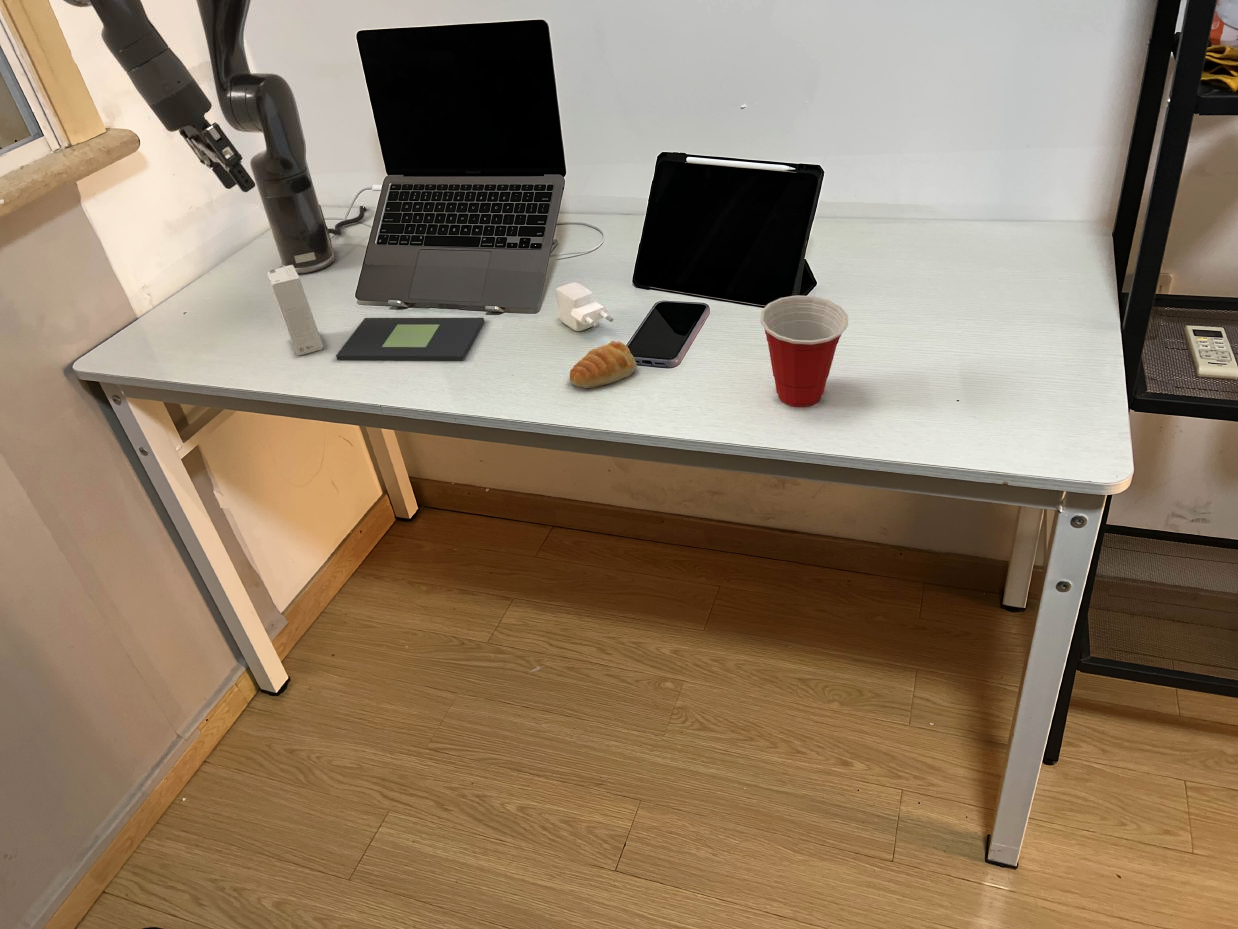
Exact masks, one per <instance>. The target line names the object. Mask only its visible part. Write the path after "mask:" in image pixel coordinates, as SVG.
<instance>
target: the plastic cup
mask: <svg viewBox="0 0 1238 929" xmlns="http://www.w3.org/2000/svg"><path fill="white" fill-rule="evenodd" d="M759 321H760V324H761V326H762V327H763V329H764V333H765V337H766V341H767V344H768V351H769V359H770V365H771V370H772V371H771V372H772V376H773V378H774V384H775V391H776V394H777V397H778V399H779V400H780V402H781V403H783V404H784V405H787V406H790V407H794V408H806V407H812V406H813V405H816V404H818V403H820V400H821V399H822V397H823V395H824V393H825V388H826V384H827V380H828V378H829V376H830V371H831V367H832V364H833V360H834V357H835V353H836V350H837V347H838V344H839V341H840V338H841V337H842V334H843V333H844V332H845V331H846V330H847V328H848V326H849V315H848V314H847V312H846V311H845V310H844V309H843V308H842V306H840V305H839V304H837V303H835V302H833V301H831V300H829V299H826V298H822V297H818V296H815V295H790V296H785V297H779V298H777V299H775V300H773V301H770V302H769V303H767V304H766V305H765V306H764V307H763V309H762V310H761V311H760V320H759Z"/></svg>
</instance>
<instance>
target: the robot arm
mask: <svg viewBox="0 0 1238 929" xmlns="http://www.w3.org/2000/svg"><path fill="white" fill-rule="evenodd" d="M62 1H63V2H65V3H67V4H69V5H71V6H72V7H77V8H90V7H92V8H93V9H94V11H95V13H96V15H97V17H98V18H99V20H100V21H101V23H102V29H101V33H100V36H101V40H102V41H103V43H104V45H105V46H106V48H107V49H108V51H109V52H110V53H111V54H112V56H113V57H114V59H115V60H116V61H117V63H118V64H119V65H120V67H121V68H122V70H123V71H124V72H126V75H127V76H128V78H129V79H130V81H131V83H132V85H133V86H134V88H135V89H136V91H137V92H138V94H139V95H140V96H141V98H142V99H143V100H144V101H145V103H146V104H147V106H149V108H150V109H151V111H152V112H153V113H154V115H155V116H156V117H157V119H158V120H159V121H160V123H161V124H162V125H163V126H164V128H165V130H166V131H167V132H171V133H174V132H177V131H178V133H179V135H180V136H181V137H182V138H183V139H184V141H185V142H186V143H187V145H188V146H189V148H190V149H191V150H192V152H193V153H194V154H195V156H196V157H197V159H198V160H199V162H200V164H202V165H203V166H206V168H208V169H209V170H211V171H212V172H213V173H214V175H215V176H216V178H217V180H219V182H220V183H221V185H222V186H223V187H224V188H225V189H226V190H231V189H232V188H234V187H235V186H237V187H238V188H239V189H240V191H241V192H242V193H248V192H249V191H251V190H252V189H254V188H255V187H257V191H258V193H259V197H260V200H261V202H262V206H263V208H264V212H265V215H266V218H267V221H268V224H269V227H270V231H271V234H272V236H273V240H274V242H275V246H276V249H277V252H278V256H279V258H280V261H281V262H280V263H281V266H282V267H285V266H289V265H293V266H294V268H295V270H296V272H297V274H298V275H299V274H308V273H312V272H317V271H320V270H322V269H325V268H326V267H328V266H330V265H331V264H332V263H333V262H334V261H335V258H336V257H335V250H334V246H333V244H332V242H333V241H332V239H331V235H334V236H339V235H341V229H340V228H342V227H345V226H348V225H352V224H355V223H358V222H360V221H361V220H362V219H363V218H364V217H365V212H366V211H367V210H368V209H367V207H366V206H364V205H363V206H364V208H363V206H361V205H360V206H359V214H358V216H356V217H353V218H349V219H346V220H342V221H339V222H338V223H336V224H335V226H334V228H331V227H330V228H329V227H328V226H327V223H326V219H325V216H324V212H323V208H322V206H321V204H320V203H319V200H318V197H317V193H316V190H315V189H316V188H315V186H314V182H313V180H312V176H311V173H310V169H309V164H308V162H307V161H308V160H307V146H306V140H305V135H304V130H303V126H302V121H301V118H300V113H299V109H298V105H297V101H296V98H295V95H294V92H293V90H292V88H291V86H290V84H289V83H288V82H287V80H286V79H285V78H284V77H282V76H281V75H279V74H276V73H266V72H265V73H264V72H261V73H260V72H257V73H255V72H251V70H250V67H249V62H248V58H247V54H246V48H245V42H244V36H245V33H244V32H245V26H246V22H247V19H248V18H247V17H248V14H249V9H250V5H251V0H195V1H196V5H197V9H198V11H199V16H200V21H201V24H202V25H201V26H202V28H203V32H204V36H205V40H206V45H207V49H208V55H209V61H210V65H211V72H212V76H213V82H214V88H215V92H216V97H217V101H218V104H219V105H218V106H219V108H220V111H221V113H222V115H223V118H224V120H225V121H226V122H227V124H228V125H229V126H230V127H231V128H233V129H234V130H235V131H237V132H241V133H259V134H261V133H262V134H263V138H264V143H265V148H266V149H264V150H262V151H260V152H258V153H256V154H254V155H253V156H252V157H251V159H250V160H249V161H250V162H249V165H250V169H251V172H252V175H253V178H252V176H251V175H250V174H249V172H248V171H247V170H246V168H245V167H244V166H243V164H242V160H243V157H242V155H241V154H242V153H240V152H239V151H238V149H237V148H236V146H235V145H234V144H233V143H232V141H231V140H230V139H229V137H228V136H227V135H226V133H225V132H224V130H223V129H222V128H221V126H220V124H219V123H217V122H216V121H214V122H213V123H210V122H209V121H208V119H206V117H205V115H206V113H209V112H210V111H211V109H212V107H213V105H212V102H211V101H210V98H208V96H207V95H206V94H205V92H204V91H203V89H202V88H201V86H200V85H199V83H198V82H197V81H196V80H195V78H194V77H193V75H192V73H190V71H189V69H188V68H187V67H186V65H185V64H184V63H183V61H182V60H181V58H180V57H178V55H177V54H175V52H174V51H173V50H172V49H171V47H169V44H168V43H167V42H166V40H165V39H164V37H163V36H162V35H161V33H160V32H159V30H158V29H157V28H156V26H155V25H154V24H153V23H152V22H151V20H150V19H149V17H148V15H147V12H146V11H145V8H144V5H143V2H142V0H62ZM227 156H229V157H227Z"/></svg>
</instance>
